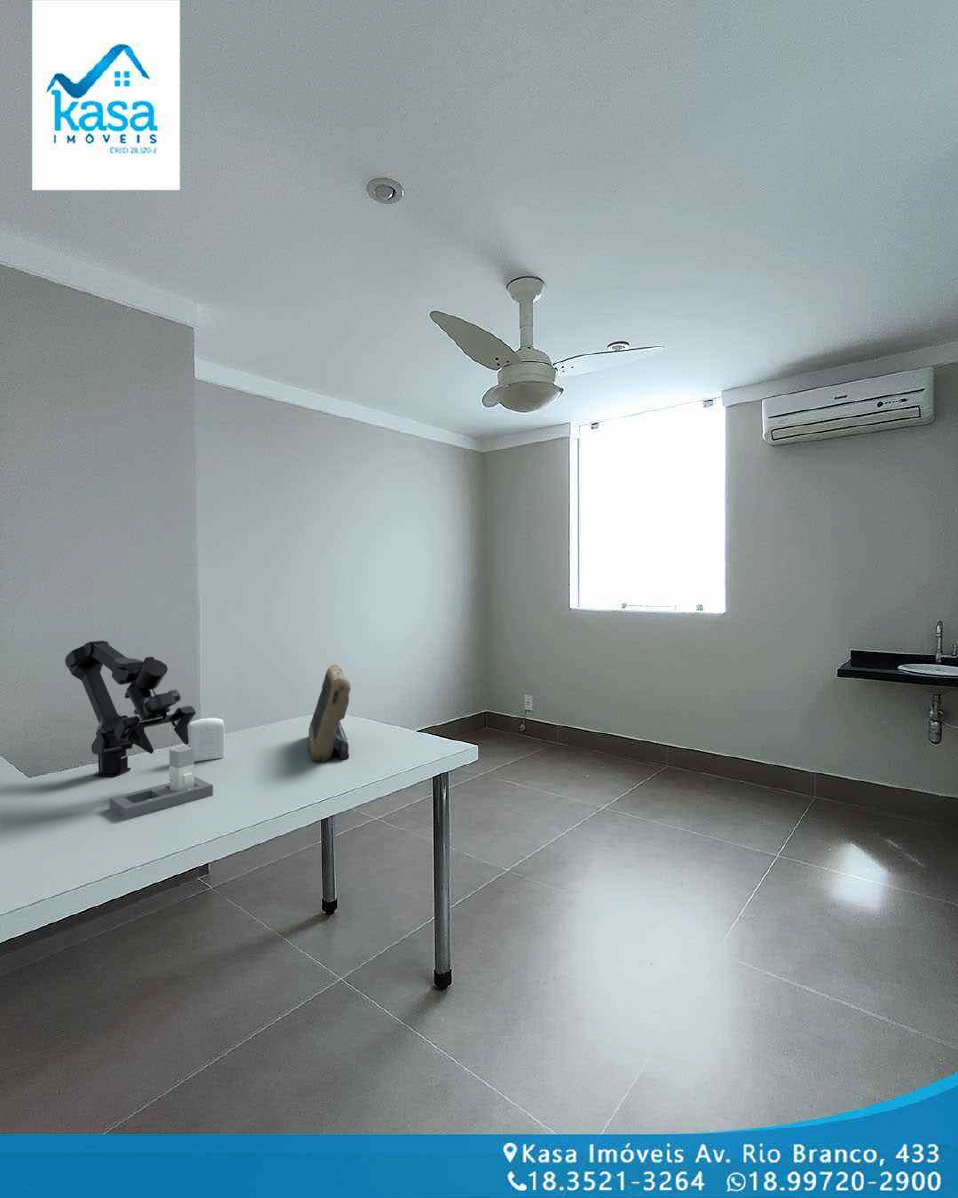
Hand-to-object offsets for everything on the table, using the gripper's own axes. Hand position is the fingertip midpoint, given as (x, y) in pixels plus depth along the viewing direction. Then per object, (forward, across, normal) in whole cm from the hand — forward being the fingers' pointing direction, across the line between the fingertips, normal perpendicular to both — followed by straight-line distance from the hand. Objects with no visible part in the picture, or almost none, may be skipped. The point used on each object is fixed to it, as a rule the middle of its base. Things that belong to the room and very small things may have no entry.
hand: (170, 748), depth 150 cm
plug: (+12, 0, +5) cm, 12 cm away
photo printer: (-4, +22, +21) cm, 30 cm away
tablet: (+11, +51, +6) cm, 52 cm away
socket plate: (+11, -4, +5) cm, 13 cm away
